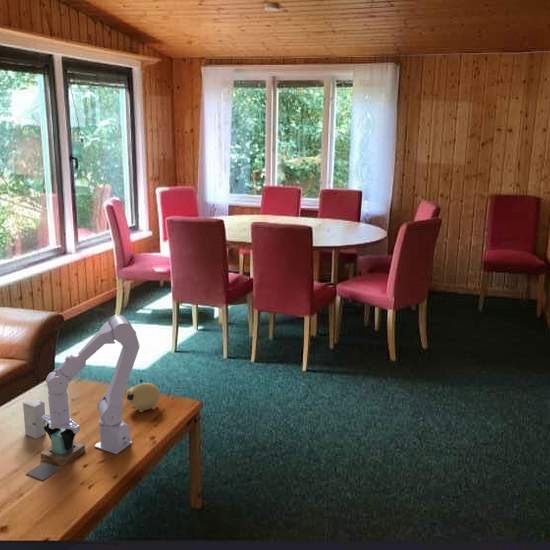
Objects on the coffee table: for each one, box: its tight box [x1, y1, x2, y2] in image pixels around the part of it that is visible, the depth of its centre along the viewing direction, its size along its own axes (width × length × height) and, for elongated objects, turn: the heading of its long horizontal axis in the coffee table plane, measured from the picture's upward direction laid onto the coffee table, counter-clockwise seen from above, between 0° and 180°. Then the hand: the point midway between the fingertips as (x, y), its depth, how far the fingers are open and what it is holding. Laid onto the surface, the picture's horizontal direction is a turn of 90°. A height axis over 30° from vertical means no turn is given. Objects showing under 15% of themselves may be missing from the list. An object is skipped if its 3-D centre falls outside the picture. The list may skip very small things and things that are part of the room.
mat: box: [25, 461, 61, 482], centre depth 181 cm, size 7×7×1 cm
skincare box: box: [22, 397, 47, 440], centre depth 200 cm, size 6×4×12 cm
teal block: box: [50, 428, 73, 456], centre depth 189 cm, size 4×5×8 cm
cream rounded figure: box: [125, 382, 161, 413], centre depth 218 cm, size 10×12×11 cm
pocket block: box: [40, 440, 86, 468], centre depth 189 cm, size 9×10×2 cm
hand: (62, 446), depth 189 cm, fingers open, 5 cm apart
